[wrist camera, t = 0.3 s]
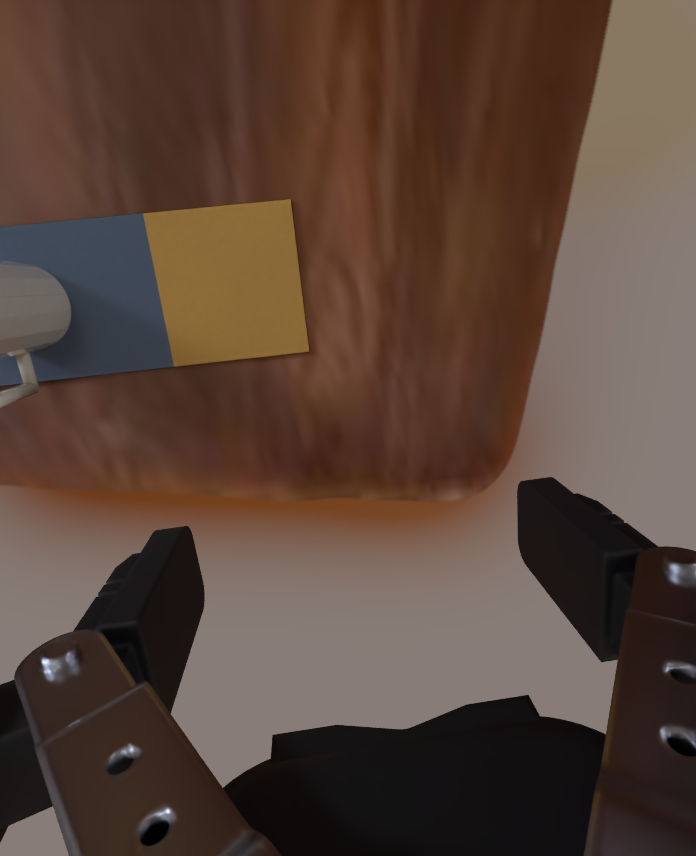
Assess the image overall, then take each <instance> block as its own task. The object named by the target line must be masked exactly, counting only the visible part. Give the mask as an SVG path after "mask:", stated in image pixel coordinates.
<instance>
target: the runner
mask: <svg viewBox="0 0 696 856" xmlns="http://www.w3.org/2000/svg"><path fill="white" fill-rule="evenodd" d="M0 261H10V262H21V263H25V264H30V265H34V266H37V267H39V268H41V269H43V270H45V271H47V272H48V273H50V274H51V275H52V276H53V277H55V278H56V279H57V280H58V281H59V283H60V284H61V285H62V287H63V288H64V290H65V291H66V294H67V296H68V298H69V301H70V306H71V321H70V325H69V327H68V330H67V331H66V333H65V335H64V336H63V337H62V338H61V339H60V340H59V341H58V342H56V343H55V344H53V345H51V346H49V347H46V348H44V349H40V350H36V351H32V352H30V356H31V359H32V363H33V367H34V370H35V374H36V377H37V381H38V382H42V381H51V380H60V379H68V378H77V377H86V376H95V375H104V374H113V373H122V372H131V371H140V370H149V369H158V368H167V367H176V366H185V365H194V364H203V363H212V362H221V361H230V360H239V359H248V358H257V357H266V356H275V355H284V354H293V353H302V352H309V346H308V337H307V329H306V321H305V313H304V305H303V296H302V288H301V280H300V272H299V264H298V256H297V247H296V239H295V231H294V223H293V215H292V207H291V199H289V200H279V201H268V202H258V203H248V204H237V205H227V206H216V207H206V208H196V209H185V210H175V211H164V212H154V213H143V214H133V215H123V216H112V217H102V218H91V219H81V220H71V221H60V222H50V223H39V224H29V225H19V226H8V227H0ZM15 384H23V381H22V378H21V375H20V371H19V368H18V364H17V361H16V357H15V356H12V357H8V358H4V359H0V386H6V385H15Z"/></svg>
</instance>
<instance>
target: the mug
mask: <svg viewBox="0 0 696 856" xmlns="http://www.w3.org/2000/svg"><path fill="white" fill-rule="evenodd" d="M70 321H71V306H70V301H69V298H68V296H67V294H66V291H65V290H64V288H63V287H62V285H61V284H60V283H59V281H58V280H57V279H56V278H55V277H53V276H52V275H51V274H50V273H48V272H47V271H45V270H43V269H41V268H39V267H37V266H34V265H30V264H25V263H21V262H10V261H0V359H4V358H8V357H12V356H15V357H16V361H17V364H18V368H19V371H20V375H21V378H22V381H23V384H21V385H18V386H15V387H13V388H10V389H7V390H4V391H1V392H0V407H3V406H5V405H8V404H10V403H13V402H15V401H18V400H20V399H22V398H25V397H27V396H30V395H32V394H35V393H37V392H38V391H39V384H38V381H37V377H36V374H35V370H34V367H33V363H32V359H31V356H30V352H32V351H36V350H40V349H44V348H46V347H49V346H51V345H53V344H55V343H56V342H58V341H59V340H60V339H61V338H62V337H63V336H64V335H65V333H66V331H67V330H68V327H69V325H70Z"/></svg>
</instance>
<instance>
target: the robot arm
mask: <svg viewBox="0 0 696 856" xmlns="http://www.w3.org/2000/svg"><path fill="white" fill-rule="evenodd" d="M517 499H518V502H517V503H518V544H519V549H520V553H521V556H522V559H523V561H524V563H525V564H526V566H527V567H528V568H529V570H530V571H531V572H532V574H533V575H534V576H535V577H536V579H537V580H538V581H539V583H540V584H541V585H542V586H543V588H544V589H545V590H546V592H547V593H548V594H549V595H550V597H551V598H552V599H553V601H554V602H555V603H556V604H557V606H558V607H559V608H560V610H561V611H562V612H563V613H564V615H565V616H566V617H567V619H568V620H569V621H570V622H571V624H572V625H573V626H574V628H575V629H576V630H577V631H578V633H579V634H580V635H581V637H582V638H583V639H584V640H585V642H586V643H587V644H588V646H590V648H591V649H592V651H593V652H594V653H595V654H596V656H597V657H598V658H599V660H600V661H601V662H605V661H612V660H618V663H617V670H616V675H615V681H614V688H613V694H612V700H611V706H610V713H609V719H608V725H607V731H606V734H604V733H601V732H599V731H597V730H594V729H592V728H589V727H586V726H584V725H581V724H577V723H574V722H570V721H566V720H562V719H556V718H551V717H541V716H539V714H538V712H537V710H536V708H535V707H534V705H533V703H532V701H531V699H530V697H529V695H525V696H519V697H513V698H506V699H499V700H493V701H487V702H480V703H474V704H468V705H465V706H462V707H460V708H457V709H455V710H453V711H450V712H448V713H445V714H443V715H440V716H438V717H436V718H433V719H431V720H429V721H426V722H424V723H421V724H419V725H416V726H414V727H411V728H408V729H402V730H401V729H385V728H371V727H356V726H344V725H334V726H327V727H320V728H314V729H308V730H301V731H295V732H289V733H282V734H277V735H273V737H272V751H271V759H269V760H267V761H264V762H262V763H260V764H258V765H256V766H254V767H253V768H251V769H249V770H247V771H245V772H244V773H242V774H241V775H239V776H238V777H236V778H235V779H233V780H232V781H231V782H230V783H228V784H227V785H226V786H225V787H224V788H222V786H221V785H220V784H219V782H218V781H217V779H216V778H215V776H214V775H213V774H212V772H211V771H210V769H209V768H208V767H207V765H206V764H205V763H204V761H203V760H202V758H201V757H200V755H199V754H198V752H197V751H196V750H195V748H194V747H193V745H192V744H191V742H190V741H189V740H188V738H187V737H186V735H185V734H184V732H183V731H182V730H181V728H180V727H179V726H178V724H177V723H176V721H175V720H174V718H173V717H172V716H171V711H172V707H173V704H174V701H175V698H176V695H177V691H178V688H179V685H180V682H181V679H182V676H183V672H184V669H185V666H186V663H187V660H188V657H189V653H190V650H191V647H192V644H193V641H194V637H195V634H196V631H197V628H198V625H199V622H200V619H201V615H202V612H203V608H204V585H203V580H202V575H201V571H200V566H199V563H198V557H197V553H196V549H195V544H194V540H193V535H192V532H191V530H190V528H189V527H188V526H184V527H176V528H169V529H162V530H156V531H154V532H153V534H152V535H151V537H150V539H149V540H148V542H147V543H146V545H145V547H144V548H143V550H142V552H141V553H137V554H133V555H131V556H130V557H129V558H127V559H126V560H125V561H124V562H122V563H121V564H120V565H119V566H117V567H116V568H115V570H114V571H113V573H112V574H111V576H110V577H109V579H108V580H107V582H106V585H104V586H103V588H102V589H101V591H100V592H99V593H98V597H96V598H95V600H94V601H93V602H92V604H91V605H90V607H89V608H88V610H87V611H86V613H85V615H84V616H83V617H82V619H81V620H80V622H79V623H78V625H77V626H76V628H75V629H74V631H73V632H70V633H66V634H63V635H60V636H58V637H56V638H54V639H52V640H50V641H48V642H46V643H44V644H43V645H41V646H39V647H38V648H36V649H35V650H34V651H32V652H31V653H30V654H29V655H28V656H27V657H26V658H25V659H24V660H23V661H22V662H21V664H20V665H19V666H18V668H17V670H16V672H15V676H14V680H12V681H10V682H7V683H4V684H1V685H0V842H1V840H2V838H3V836H4V834H5V832H6V830H7V827H8V826H9V825H11V824H13V823H16V822H18V821H20V820H23V819H25V818H26V817H29V816H31V815H34V814H36V813H38V812H40V811H43V810H45V809H47V808H50V807H52V806H53V807H54V810H55V813H56V817H57V820H58V823H59V826H60V828H61V832H62V835H63V838H64V841H65V844H66V848H67V850H68V854H69V856H696V551H693V550H689V549H684V548H678V547H658V546H656V545H655V544H654V543H653V542H651V541H650V540H649V539H647V538H646V537H645V536H643V535H642V534H641V533H639V532H638V531H637V530H635V529H634V528H633V527H631V526H630V525H629V524H627V523H624V521H623V520H622V519H621V518H619V517H618V516H616V515H615V514H612V512H611V511H610V510H609V509H608V508H606V507H605V506H603V505H602V504H601V503H599V502H598V501H596V500H593V499H591V498H588V497H585V496H583V495H580V494H578V493H577V494H573V493H572V492H571V491H570V490H568V489H567V488H566V487H564V486H563V485H562V484H561V483H559V482H558V481H557V480H556V479H554V478H552V477H548V478H541V479H534V480H526V481H521V482H520V483H519V485H518V491H517Z"/></svg>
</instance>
